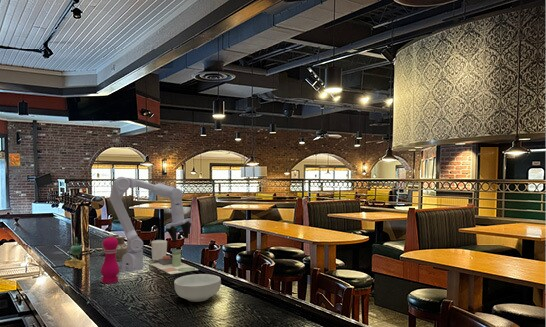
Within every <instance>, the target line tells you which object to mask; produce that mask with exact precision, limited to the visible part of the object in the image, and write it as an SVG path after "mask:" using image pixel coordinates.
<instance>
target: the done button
mask: <svg viewBox="0 0 546 327" xmlns="http://www.w3.org/2000/svg"><path fill="white" fill-rule="evenodd" d="M170 258H171V255H166V256H163V260H164V261H165V260H170Z"/></svg>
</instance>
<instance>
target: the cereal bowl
mask: <svg viewBox="0 0 546 327" xmlns="http://www.w3.org/2000/svg"><path fill="white" fill-rule="evenodd" d="M173 282H174V283H173V284H174V290H175V293H176V294H177V295H178V297H180V298H182V299H185V300H187V301H189V302H193V303H195V302H197V303H198V302H200V303H201V302H205V301H207V300H209V298H211V297H214V296H215V295H217V294H218V292H219V291H220V288H221V285H222V280H221V277H220V276H218V275H215V274H209V273H198V274H197V273H196V274H187V275H183V276H180V277H178V278H175V280H173Z"/></svg>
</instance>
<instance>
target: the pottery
mask: <svg viewBox="0 0 546 327" xmlns="http://www.w3.org/2000/svg"><path fill="white" fill-rule="evenodd" d="M113 237H114V238H116V239H117V240H118V246H117V247H116V249H117V252H116V261H117V262H122V257H123V255H124V254H126V252H127V249H128V248H129V246H128V245H127V243H125V238H126V236H121V235H119V234H113ZM106 238H109V236H108V235H106ZM101 245H102V246H101V247H102V249H103V250H104V249H105V248H104V247H103V242H102V243H101Z"/></svg>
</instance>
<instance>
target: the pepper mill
mask: <svg viewBox="0 0 546 327" xmlns="http://www.w3.org/2000/svg"><path fill="white" fill-rule="evenodd" d="M113 235H114V234H113V233H109V234H107V236H109V238H107V237H106V238H105V239H104V240H103V241H102V243H103V247H104V248H105V249H103V254H104V256H105V257H104V261H103V264H102V265H101V269H100V274H101V275H102V277H101V283H103V284H115V283H117V282H118V281H119V277H118V274H119V273H120V266H119V264H118V261H116V252H117V249H116V247H117V246H118V240H117V239H116V238H114V237H113ZM103 247H102V248H103Z"/></svg>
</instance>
